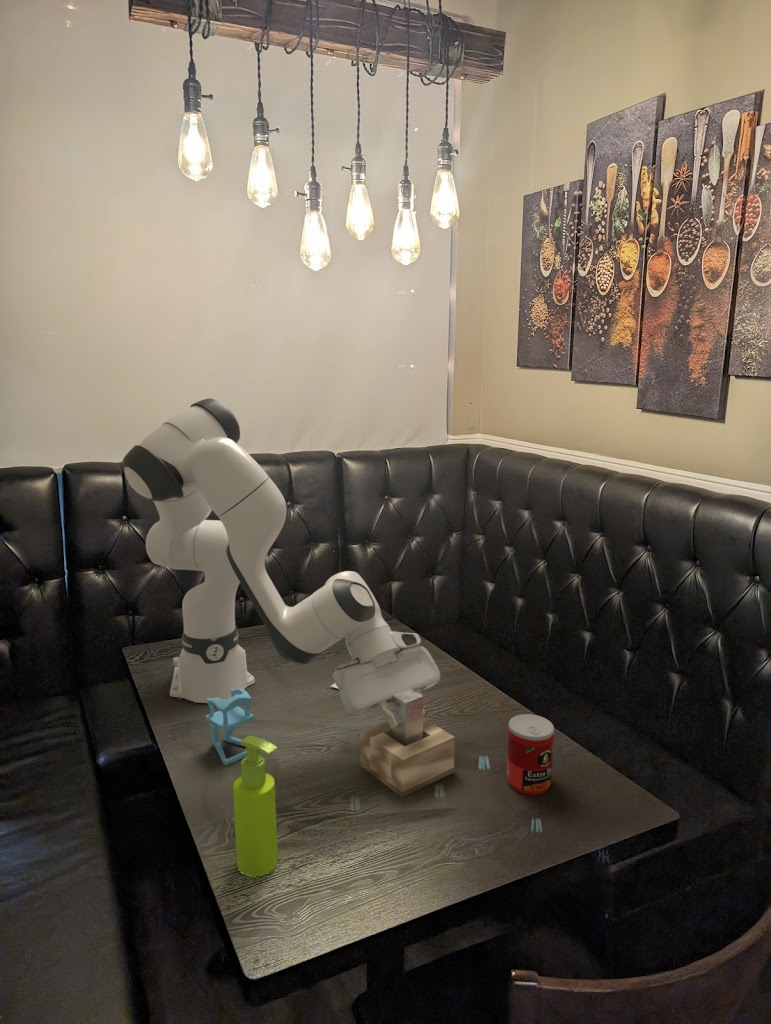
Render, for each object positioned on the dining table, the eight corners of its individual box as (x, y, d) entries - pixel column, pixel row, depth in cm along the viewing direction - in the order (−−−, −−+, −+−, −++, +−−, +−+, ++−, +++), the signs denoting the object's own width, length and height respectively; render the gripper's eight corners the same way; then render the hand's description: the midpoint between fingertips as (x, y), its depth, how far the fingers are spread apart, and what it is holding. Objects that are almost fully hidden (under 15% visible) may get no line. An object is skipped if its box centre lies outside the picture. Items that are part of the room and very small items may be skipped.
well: (360, 765, 128) (360, 730, 126) (411, 744, 135) (411, 710, 133) (402, 797, 118) (402, 760, 117) (453, 772, 126) (454, 736, 124)
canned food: (525, 800, 117) (528, 741, 115) (497, 776, 124) (499, 719, 122) (561, 788, 121) (564, 730, 119) (531, 765, 128) (534, 709, 125)
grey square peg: (391, 755, 126) (391, 694, 124) (408, 748, 129) (408, 688, 126) (405, 765, 123) (405, 702, 121) (422, 757, 126) (423, 696, 123)
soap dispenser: (264, 886, 98) (259, 757, 94) (228, 867, 102) (221, 743, 98) (291, 861, 103) (287, 738, 99) (256, 844, 107) (250, 725, 103)
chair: (236, 734, 139) (233, 678, 136) (261, 750, 133) (258, 691, 131) (202, 749, 133) (198, 691, 131) (225, 766, 128) (222, 705, 125)
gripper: (335, 659, 121) (369, 734, 116) (424, 632, 133) (459, 698, 128) (322, 674, 126) (354, 747, 120) (409, 646, 138) (442, 711, 132)
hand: (409, 721), depth 124 cm, fingers closed on grey square peg, 4 cm apart
